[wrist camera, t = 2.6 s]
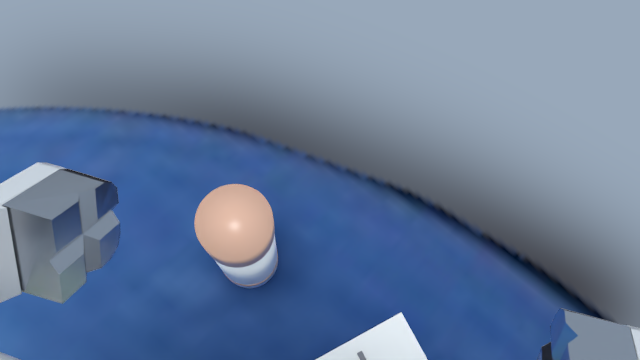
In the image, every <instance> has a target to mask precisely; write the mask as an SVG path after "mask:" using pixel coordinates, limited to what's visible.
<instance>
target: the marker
mask: <svg viewBox="0 0 640 360" xmlns="http://www.w3.org/2000/svg"><path fill="white" fill-rule="evenodd" d="M195 231H196V235H197V238H198V240H199V242H200V243H201V245H202V246H203V247H204V249H205V250H206V251H207V253H208V254H209V255H210V256H211V257H212V258H213V259H214V260H215V261H216V263H217V264H218V265H219V267H220V268H221V269H222V271H223V273H224V274H225V275H226V277H227V278H228V279H229V280H230V281H231V282H232V283H234V284H235V285H237V286H240V287H243V288H256V287H259V286H262V285H264V284H265V283H267V282H268V281H269V280H270V279H271V278H272V277H273V275H274V273H275V272H276V269H277V265H278V252H277V247H276V241H275V227H274V220H273V213H272V210H271V207H270V205H269V203H268V201H267V200H266V198H265V197H264V196H263V195H262V194H261V193H260V192H258V191H257V190H255V189H254V188H252V187H249V186H246V185H241V184H229V185H225V186H221V187H219V188H217V189H215V190H213V191H212V192H210V193H209V194H208V195H207V196H206V197H205V198H204V199H203V200H202V202H201V203H200V205H199V207H198V209H197V212H196V215H195Z"/></svg>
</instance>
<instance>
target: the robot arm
mask: <svg viewBox="0 0 640 360" xmlns="http://www.w3.org/2000/svg"><path fill="white" fill-rule="evenodd" d="M118 203H119V202H118V192H117V187H116V186H115V185H114V184H113V183H112V182H110V181H106V180H103V179H100V178H97V177H93V176H90V175H87V174H83V173H80V172H77V171H74V170H70V169H65V168H63V167H60V166H56V165H53V164H49V163H36V164H34V165H32V166H31V167H29V168H27V169H25V170H24V171H22V172H20V173H18V174H17V175H15V176H13V177H11V178H10V179H8V180H6V181H4V182H3V183H1V184H0V303H1V302H3V301H5V300H8V299H10V298H13V297H15V296H17V295H20V294H21V293H22V292H25V293H29V294H32V295H35V296H39V297H42V298H45V299H49V300H52V301H55V302H59V303H62V304H63V303H64V302H65V301H66V300H67V299H68V298H69V297H70V296H72V295H73V294H74V293H75V292H76V291H77V290H78V289H79V288H80V287H81V286H82V285H84V284H85V283H86V279H87V272H90V271H93V270H96V269H100V268H102V267H103V266H104V265H105V264H106V263H107V262H108V261H109V260H110V259H111V258H112V256H113V254H114V252H115V250H116V248H117V246H118V243H119V238H120V222H119V220H118V219H117V217H116V216H115V214H114V213H113V211H112V210H113V209H114V208H115V207H116V205H117V204H118ZM21 291H22V292H21ZM550 334H551V342H550V343H548V344H546V345H544V346H542V347H541V350H540V352H539V355H538V357H537V360H640V328H637V327H633V326H629V325H621V324H618V323H614V322H610V321H607V320H603V319H599V318H595V317H592V316H588V315H584V314H581V313H577V312H573V311H569V310H566V309H562V308H560V309H559V310H558V312H557V313H556V314H555V317H554V319H553V321H552V323H551V326H550ZM0 360H21V359H18V358H15V357H12V356H9V355H7V354H4V353H1V352H0Z"/></svg>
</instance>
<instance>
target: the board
mask: <svg viewBox="0 0 640 360" xmlns="http://www.w3.org/2000/svg"><path fill="white" fill-rule="evenodd" d="M316 360H428V359H427V358H426V356H425V354H424V352H423V350H422V349H421V347H420V345H419V343H418V341H417V340H416V338H415V336H414V334H413V332H412V331H411V329H410V327H409V325H408V323H407V322H406V320H405V318H404V316H403V314H402V313H399V314H397V315H395V316H393V317H392V318H390V319H388V320H386V321H384V322H383V323H381V324H379V325H377V326H375V327H374V328H372V329H370V330H368V331H366V332H364V333H363V334H361V335H359V336H357V337H355V338H354V339H352V340H350V341H348V342H346V343H345V344H343V345H341V346H339V347H337V348H336V349H334V350H332V351H330V352H328V353H327V354H325V355H323V356H321V357H319V358H317V359H316Z"/></svg>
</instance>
